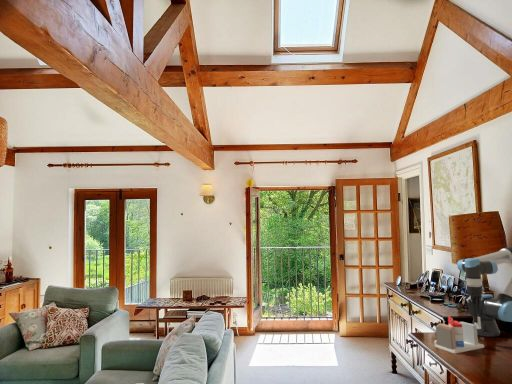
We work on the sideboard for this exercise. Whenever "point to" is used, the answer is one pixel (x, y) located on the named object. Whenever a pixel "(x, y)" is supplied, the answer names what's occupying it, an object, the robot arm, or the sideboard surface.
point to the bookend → (469, 333)
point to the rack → (451, 340)
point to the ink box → (457, 332)
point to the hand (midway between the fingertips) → (477, 328)
